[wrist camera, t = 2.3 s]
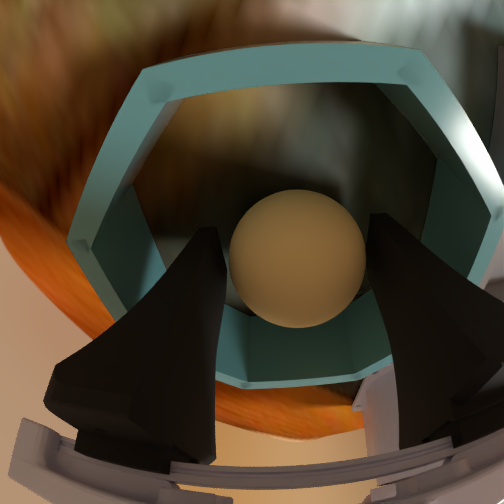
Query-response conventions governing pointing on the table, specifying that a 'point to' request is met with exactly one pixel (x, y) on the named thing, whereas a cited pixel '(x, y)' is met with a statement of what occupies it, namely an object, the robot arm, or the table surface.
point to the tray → (500, 151)
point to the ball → (297, 258)
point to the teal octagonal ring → (274, 73)
